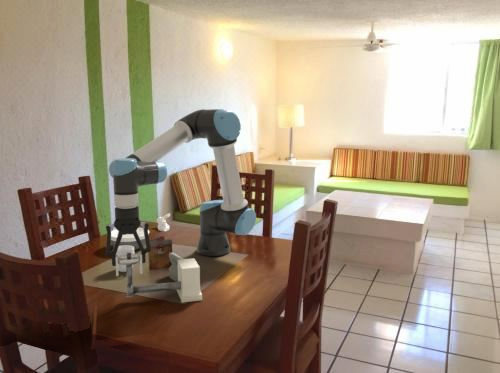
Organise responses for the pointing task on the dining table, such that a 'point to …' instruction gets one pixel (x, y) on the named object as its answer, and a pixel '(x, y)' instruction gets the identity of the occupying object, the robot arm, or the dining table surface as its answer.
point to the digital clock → (174, 266)
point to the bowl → (129, 238)
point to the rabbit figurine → (163, 223)
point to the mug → (122, 251)
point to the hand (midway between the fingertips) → (129, 273)
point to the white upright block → (189, 280)
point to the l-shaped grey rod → (131, 290)
